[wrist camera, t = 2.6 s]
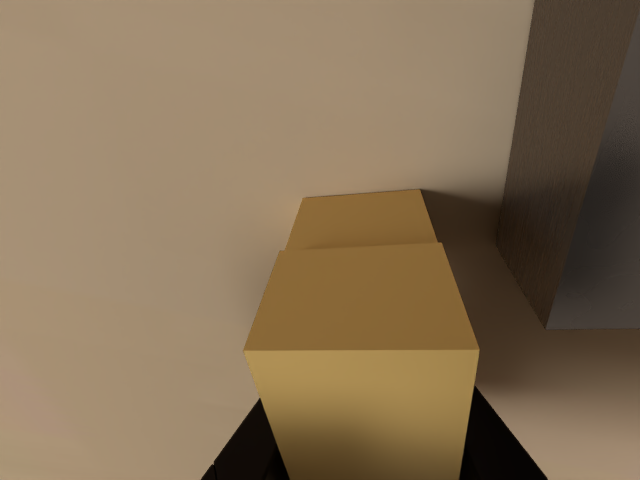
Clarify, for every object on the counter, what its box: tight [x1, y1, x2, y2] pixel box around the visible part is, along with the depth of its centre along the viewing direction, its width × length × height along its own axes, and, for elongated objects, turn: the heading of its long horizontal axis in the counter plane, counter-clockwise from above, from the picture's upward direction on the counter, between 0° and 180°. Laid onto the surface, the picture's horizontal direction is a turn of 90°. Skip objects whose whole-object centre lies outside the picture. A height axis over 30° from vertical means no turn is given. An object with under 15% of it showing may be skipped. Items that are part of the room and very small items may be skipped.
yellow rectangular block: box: [243, 189, 480, 480], centre depth 9 cm, size 8×3×5 cm, turn 7°
